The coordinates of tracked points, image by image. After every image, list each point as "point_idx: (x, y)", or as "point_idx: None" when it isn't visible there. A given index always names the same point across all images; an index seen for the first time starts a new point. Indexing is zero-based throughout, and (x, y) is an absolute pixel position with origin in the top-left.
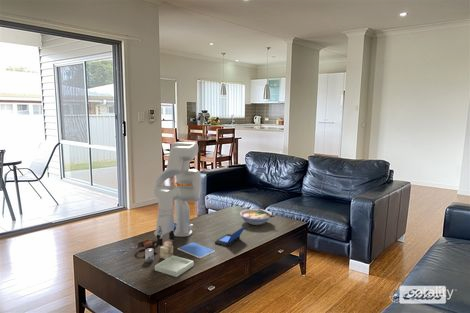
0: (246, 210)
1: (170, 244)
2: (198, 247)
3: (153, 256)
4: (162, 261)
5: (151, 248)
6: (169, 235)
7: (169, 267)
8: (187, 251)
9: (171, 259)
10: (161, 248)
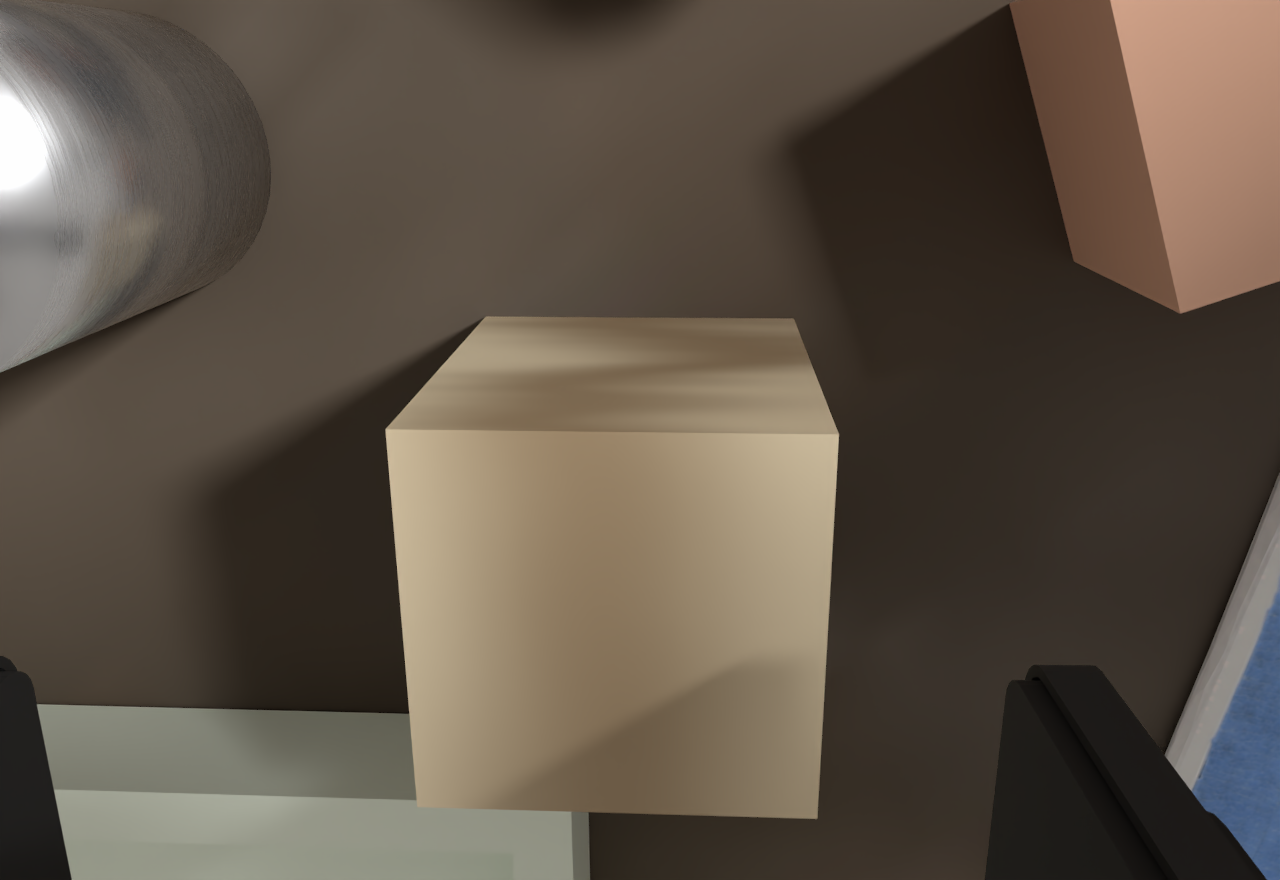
0: None
1: (1253, 276)
2: None
3: (127, 318)
4: (60, 810)
5: (17, 178)
6: (1105, 851)
7: None
8: None
9: None
10: (402, 504)
